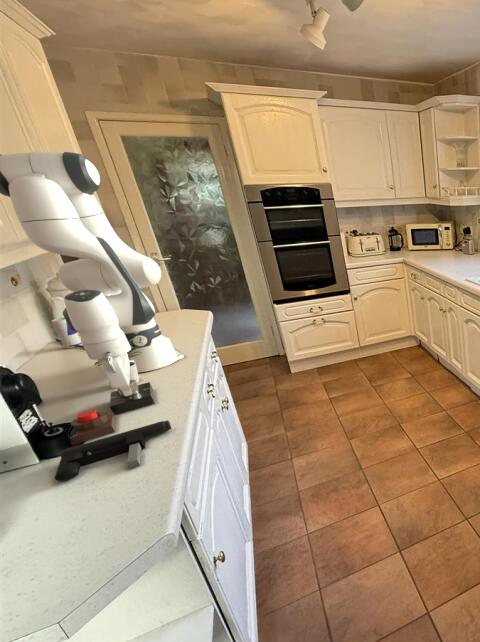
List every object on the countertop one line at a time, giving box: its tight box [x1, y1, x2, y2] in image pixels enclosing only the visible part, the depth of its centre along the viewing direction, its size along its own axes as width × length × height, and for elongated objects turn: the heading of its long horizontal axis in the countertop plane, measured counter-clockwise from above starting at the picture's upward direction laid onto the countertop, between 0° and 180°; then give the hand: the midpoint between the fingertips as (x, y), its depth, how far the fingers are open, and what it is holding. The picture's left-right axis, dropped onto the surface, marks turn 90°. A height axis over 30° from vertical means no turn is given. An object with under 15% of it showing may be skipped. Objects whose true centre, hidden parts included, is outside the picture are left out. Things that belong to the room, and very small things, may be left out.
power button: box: [76, 409, 99, 423], centre depth 103 cm, size 4×4×2 cm
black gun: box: [54, 419, 172, 482], centre depth 93 cm, size 3×20×16 cm
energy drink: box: [51, 317, 83, 349], centre depth 163 cm, size 5×5×12 cm
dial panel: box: [109, 381, 156, 416], centre depth 118 cm, size 12×9×3 cm
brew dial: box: [116, 380, 140, 397], centre depth 116 cm, size 4×4×4 cm
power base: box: [70, 410, 117, 446], centre depth 104 cm, size 10×8×4 cm
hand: (128, 390), depth 117 cm, fingers open, 5 cm apart
